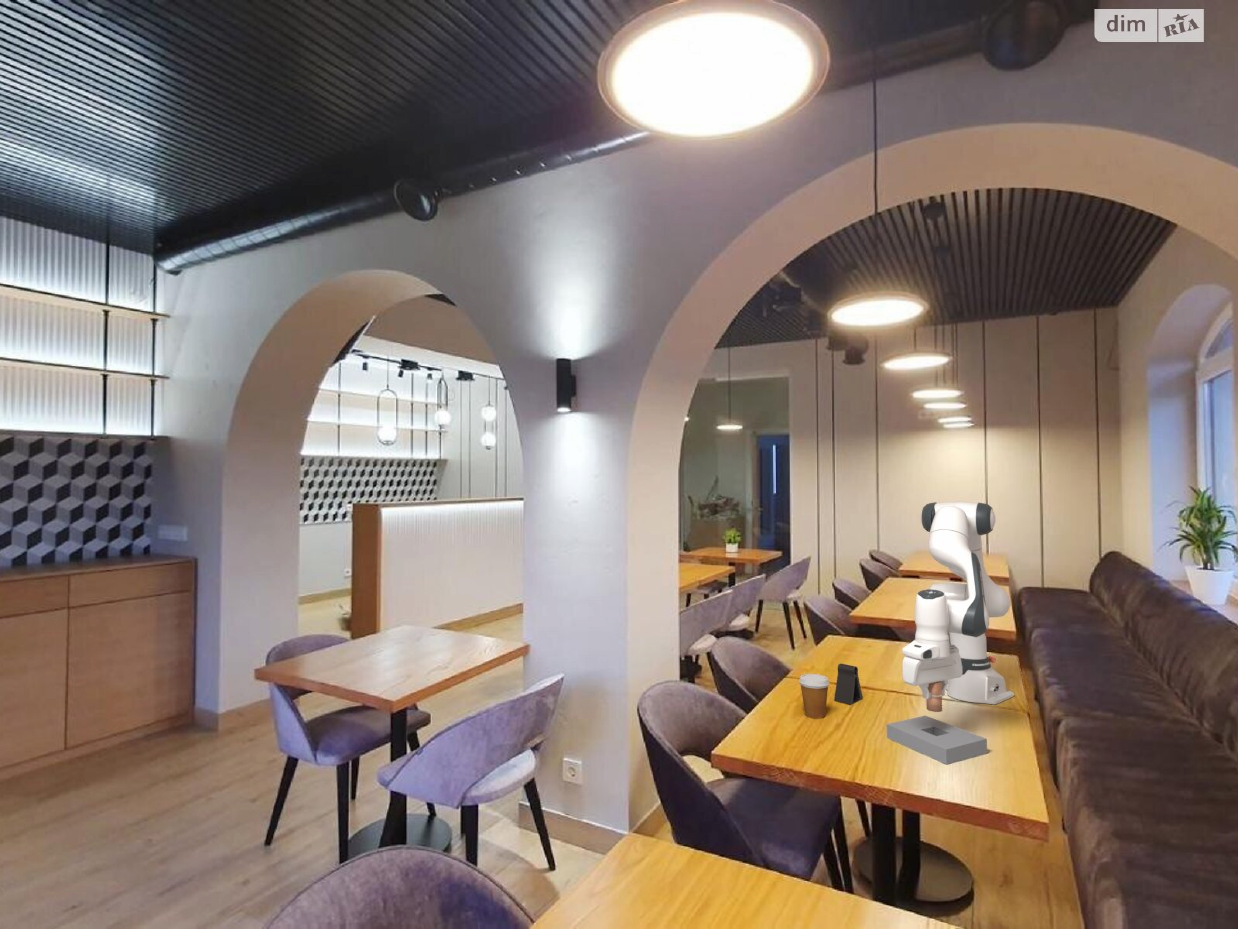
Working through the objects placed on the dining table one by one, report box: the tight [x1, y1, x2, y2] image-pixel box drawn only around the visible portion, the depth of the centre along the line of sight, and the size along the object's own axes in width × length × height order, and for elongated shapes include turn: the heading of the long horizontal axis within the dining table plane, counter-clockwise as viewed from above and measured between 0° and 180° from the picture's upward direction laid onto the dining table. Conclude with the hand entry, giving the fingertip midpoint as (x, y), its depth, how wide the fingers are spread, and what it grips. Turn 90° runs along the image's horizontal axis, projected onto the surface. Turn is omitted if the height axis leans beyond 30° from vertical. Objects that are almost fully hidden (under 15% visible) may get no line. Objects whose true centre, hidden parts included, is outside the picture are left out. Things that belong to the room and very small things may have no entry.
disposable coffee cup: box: [798, 673, 830, 719], centre depth 207 cm, size 10×10×12 cm
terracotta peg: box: [925, 681, 943, 713], centre depth 182 cm, size 4×4×8 cm
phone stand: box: [833, 663, 864, 706], centre depth 221 cm, size 9×6×12 cm, turn 133°
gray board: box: [886, 714, 988, 766], centre depth 182 cm, size 16×20×4 cm
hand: (933, 696), depth 182 cm, fingers closed on terracotta peg, 4 cm apart
